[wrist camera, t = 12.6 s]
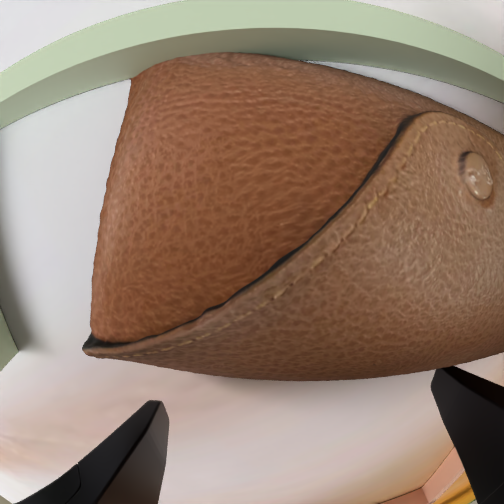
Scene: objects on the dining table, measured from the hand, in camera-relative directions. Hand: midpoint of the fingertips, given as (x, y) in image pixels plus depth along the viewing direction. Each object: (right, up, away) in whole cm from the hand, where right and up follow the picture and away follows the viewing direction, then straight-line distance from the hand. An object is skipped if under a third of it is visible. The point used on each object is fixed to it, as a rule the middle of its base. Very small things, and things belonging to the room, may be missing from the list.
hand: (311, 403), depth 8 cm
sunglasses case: (+3, +6, +1) cm, 6 cm away
